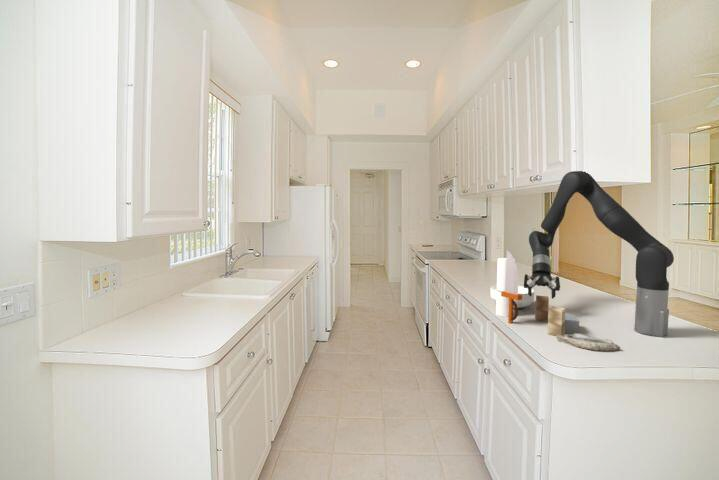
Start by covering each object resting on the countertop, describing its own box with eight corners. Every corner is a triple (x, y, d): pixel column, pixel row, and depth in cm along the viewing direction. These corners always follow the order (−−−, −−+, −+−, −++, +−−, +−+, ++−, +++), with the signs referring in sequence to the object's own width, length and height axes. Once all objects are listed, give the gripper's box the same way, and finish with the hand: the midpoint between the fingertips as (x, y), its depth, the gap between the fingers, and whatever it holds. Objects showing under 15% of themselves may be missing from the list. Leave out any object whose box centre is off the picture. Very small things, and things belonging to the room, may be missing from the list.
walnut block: (546, 319, 150) (547, 296, 150) (547, 322, 146) (548, 298, 146) (535, 318, 152) (536, 295, 152) (535, 321, 148) (536, 297, 147)
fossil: (555, 345, 123) (556, 336, 123) (560, 335, 131) (560, 328, 130) (619, 358, 112) (619, 349, 112) (620, 347, 120) (621, 339, 119)
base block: (573, 327, 141) (573, 315, 140) (578, 334, 133) (579, 321, 133) (550, 325, 143) (551, 313, 143) (554, 331, 136) (555, 319, 135)
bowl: (543, 310, 165) (544, 292, 164) (506, 313, 160) (507, 294, 159) (515, 299, 184) (516, 284, 183) (482, 302, 179) (482, 285, 178)
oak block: (564, 334, 132) (565, 308, 131) (560, 337, 129) (562, 310, 128) (551, 331, 135) (552, 306, 134) (547, 334, 132) (548, 308, 131)
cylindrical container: (514, 317, 154) (516, 260, 151) (497, 316, 155) (499, 260, 153) (511, 312, 160) (512, 258, 158) (494, 311, 162) (496, 257, 160)
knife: (500, 320, 149) (502, 250, 147) (504, 319, 150) (506, 249, 148) (516, 325, 142) (519, 252, 139) (521, 325, 143) (523, 251, 141)
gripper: (524, 260, 162) (523, 290, 153) (559, 262, 156) (561, 293, 147) (523, 270, 167) (523, 299, 158) (558, 272, 162) (559, 302, 152)
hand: (541, 296), depth 152 cm, fingers open, 8 cm apart
